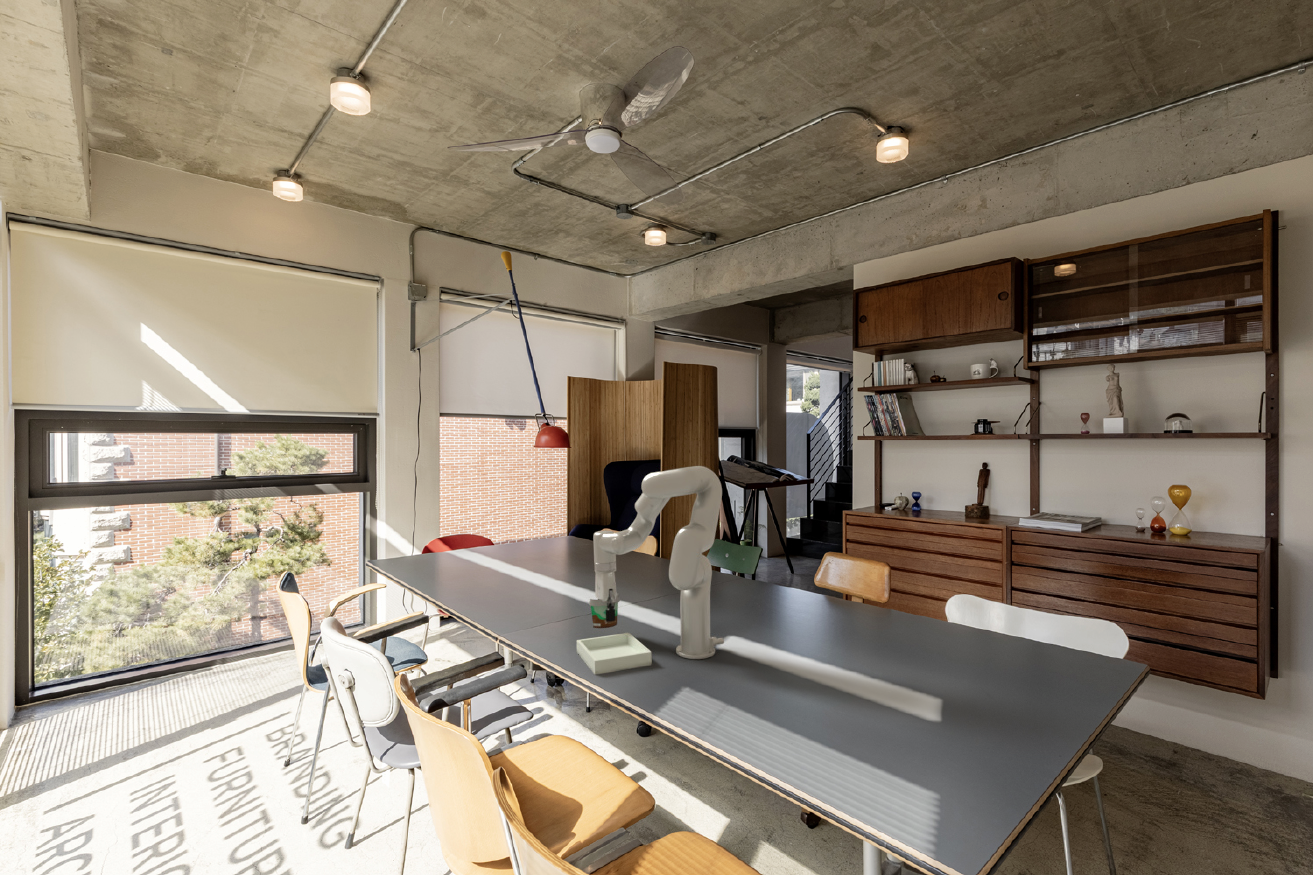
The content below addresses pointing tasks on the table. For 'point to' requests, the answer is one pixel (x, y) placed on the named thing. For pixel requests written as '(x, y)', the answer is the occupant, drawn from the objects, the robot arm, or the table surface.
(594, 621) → the food container
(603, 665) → the tray
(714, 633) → the table surface
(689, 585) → the robot arm
